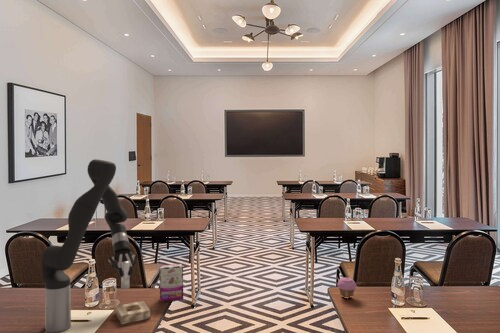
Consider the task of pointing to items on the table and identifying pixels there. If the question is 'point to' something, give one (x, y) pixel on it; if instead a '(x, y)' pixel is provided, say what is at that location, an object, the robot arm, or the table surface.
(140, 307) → the socket block
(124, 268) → the pin
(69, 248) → the robot arm
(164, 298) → the candy bar box
